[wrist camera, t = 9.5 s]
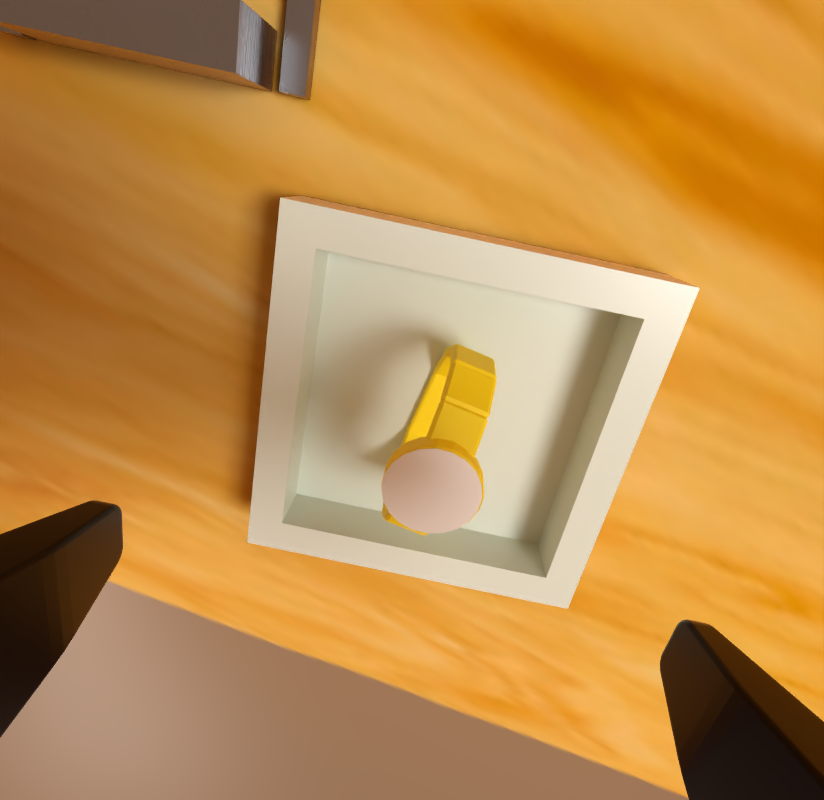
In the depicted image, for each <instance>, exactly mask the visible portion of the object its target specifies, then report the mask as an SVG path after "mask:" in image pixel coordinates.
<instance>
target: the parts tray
mask: <svg viewBox="0 0 824 800" xmlns="http://www.w3.org/2000/svg"><path fill="white" fill-rule="evenodd" d="M699 289H700V288H698V287H696V286H694V285H691V284H689V283H687V282H684V281H682V280H680V279H677V278H675V277H672V276H670V275H668V274H663V273H659V272H654V271H650V270H645V269H640V268H636V267H631V266H626V265H622V264H617V263H613V262H608V261H603V260H599V259H594V258H589V257H585V256H580V255H576V254H571V253H566V252H562V251H557V250H552V249H548V248H543V247H538V246H534V245H529V244H525V243H520V242H515V241H511V240H506V239H501V238H497V237H492V236H488V235H483V234H478V233H474V232H469V231H464V230H460V229H455V228H451V227H446V226H441V225H437V224H432V223H427V222H423V221H418V220H413V219H409V218H404V217H400V216H395V215H390V214H386V213H381V212H376V211H372V210H367V209H363V208H358V207H353V206H349V205H344V204H339V203H335V202H330V201H326V200H321V199H316V198H312V197H307V196H292V197H280V205H279V215H278V226H277V236H276V247H275V257H274V268H273V278H272V289H271V299H270V310H269V320H268V331H267V341H266V352H265V362H264V373H263V383H262V394H261V404H260V415H259V425H258V436H257V446H256V457H255V467H254V477H253V488H252V498H251V509H250V519H249V530H248V540H247V543H252V544H257V545H262V546H267V547H272V548H276V549H281V550H286V551H291V552H296V553H301V554H305V555H310V556H315V557H320V558H325V559H330V560H334V561H339V562H344V563H349V564H354V565H359V566H363V567H368V568H373V569H378V570H383V571H388V572H392V573H397V574H402V575H407V576H412V577H417V578H421V579H426V580H431V581H436V582H441V583H446V584H450V585H455V586H460V587H465V588H470V589H475V590H479V591H484V592H489V593H494V594H499V595H504V596H508V597H513V598H518V599H523V600H528V601H533V602H537V603H542V604H547V605H552V606H557V607H562V608H566V609H568V607H569V604H570V602H571V599H572V597H573V595H574V592H575V590H576V587H577V585H578V582H579V580H580V578H581V575H582V573H583V570H584V568H585V565H586V563H587V561H588V558H589V556H590V553H591V551H592V548H593V546H594V544H595V541H596V539H597V536H598V534H599V531H600V529H601V527H602V524H603V522H604V519H605V517H606V514H607V512H608V510H609V507H610V505H611V502H612V500H613V497H614V495H615V493H616V490H617V488H618V485H619V483H620V480H621V478H622V476H623V473H624V471H625V468H626V466H627V463H628V461H629V459H630V456H631V454H632V451H633V449H634V446H635V444H636V442H637V439H638V437H639V434H640V432H641V429H642V427H643V425H644V422H645V420H646V417H647V415H648V412H649V410H650V408H651V405H652V403H653V400H654V398H655V395H656V393H657V391H658V388H659V386H660V383H661V381H662V378H663V376H664V374H665V371H666V369H667V366H668V364H669V361H670V359H671V357H672V354H673V352H674V349H675V347H676V344H677V342H678V340H679V337H680V335H681V332H682V330H683V327H684V325H685V323H686V320H687V318H688V315H689V313H690V310H691V308H692V306H693V303H694V301H695V298H696V296H697V294H698V291H699ZM455 344H459V345H462V346H464V347H466V348H469V349H471V350H473V351H476V352H478V353H481V354H483V355H485V356H488V357H490V358H492V359H493V360H494V362H495V368H496V377H497V380H496V387H495V392H494V396H493V401H492V406H491V410H490V415H489V417H488V418H487V420H488V422H487V424H486V427H485V430H484V433H483V435H482V438H481V441H480V444H479V446H478V449H477V452H476V455H475V457H476V458H477V460H478V462H479V464H480V467H481V469H482V471H483V479H484V499H483V501H482V504H481V507H480V509H479V511H478V512H477V513H476V515H475V516H474V517H473V518H472V519H471V520H470V521H469V522H468V523H466V524H464V525H463V526H461V527H460V528H458V529H455V530H452V531H448V532H445V533H429V534H427V535H424V536H423V535H421V534H418V533H416V532H413V531H410V530H408V529H405V528H403V527H400V526H397V525H395V524H392V523H390V522H387V521H386V520H385V519H384V518H383V516H382V508H383V502H384V501H383V497H382V489H381V484H382V479H383V475H384V471H385V467H386V463H387V461H388V460H389V458H390V457H391V456H392V454H393V453H394V451H395V450H396V449H398V448H399V447H400V446H401V444H402V441H403V438H404V436H405V433H406V431H407V427H408V426H409V425H410V422H411V420H412V418H413V416H414V414H415V411H416V409H417V407H418V405H419V403H420V400H421V398H422V396H423V394H424V392H425V389H426V387H427V385H428V383H429V381H430V378H431V376H432V374H433V372H434V370H435V367H436V365H437V363H438V362H439V360H440V359H441V357H442V355H443V354H444V352H445V351H446V350H447V348H449V347H451V346H453V345H455Z"/></svg>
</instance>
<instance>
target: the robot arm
mask: <svg viewBox="0 0 824 800" xmlns="http://www.w3.org/2000/svg"><path fill="white" fill-rule="evenodd" d="M122 549H123V534H122V512H121V509H120V507H119V506H117V505H115V504H111V503H106V502H101V501H89V502H86V503H83V504H80V505H78V506H75V507H72V508H70V509H67V510H64V511H62V512H59V513H56V514H54V515H51V516H48V517H45V518H43V519H40V520H37V521H35V522H32V523H29V524H27V525H24V526H21V527H19V528H16V529H13V530H11V531H8V532H5V533H3V534H0V737H1V736H2V735H3V733H4V732H5V731H6V729H7V728H8V727H9V725H10V724H11V723H12V721H13V720H14V719H15V717H16V716H17V715H18V713H19V712H20V711H21V709H22V708H23V707H24V705H25V704H26V702H27V701H28V700H29V699H30V697H31V696H32V694H33V693H34V692H35V690H36V689H37V688H38V686H39V685H40V684H41V682H42V681H43V679H44V678H45V677H46V676H47V674H48V673H49V672H50V670H51V669H52V668H53V666H54V665H55V663H56V662H57V661H58V659H59V658H60V656H61V655H62V654H63V652H64V651H65V649H66V648H67V646H68V644H69V643H70V641H71V640H72V638H73V636H74V635H75V633H76V632H77V630H78V628H79V627H80V625H81V623H82V622H83V620H84V618H85V617H86V615H87V613H88V612H89V610H90V608H91V607H92V605H93V603H94V602H95V600H96V598H97V597H98V595H99V593H100V592H101V590H102V588H103V587H104V585H105V583H106V582H107V580H108V578H109V577H110V575H111V573H112V572H113V570H114V568H115V567H116V565H117V563H118V562H119V559H120V557H121V554H122ZM660 671H661V677H662V682H663V687H664V692H665V697H666V701H667V706H668V711H669V716H670V721H671V726H672V731H673V736H674V741H675V746H676V751H677V755H678V760H679V764H680V768H681V773H682V776H683V780H684V783H685V787H686V791H687V794H688V797H689V800H824V722H823V721H822V720H821V719H820V718H819V717H818V716H816V715H815V714H814V713H813V712H812V711H811V710H809V709H808V708H807V707H806V706H805V705H804V704H802V703H801V702H800V701H799V700H798V699H797V698H795V697H794V696H793V695H792V694H791V693H790V692H788V691H787V690H786V689H785V688H784V687H783V686H781V685H780V684H779V683H778V682H777V681H776V680H774V679H773V678H772V677H771V676H770V675H769V674H767V673H766V672H765V671H764V670H763V669H762V668H760V667H759V666H758V665H757V664H756V663H755V662H753V661H752V660H751V659H750V658H749V657H748V656H746V655H745V654H744V653H743V652H742V651H741V650H739V649H738V648H737V647H736V646H735V645H734V644H732V643H731V642H730V641H729V640H728V639H727V638H726V637H724V636H723V635H722V634H721V633H720V632H719V631H717V630H716V629H715V628H714V627H712V626H711V625H709V624H706V623H702V622H697V621H692V620H682V621H681V622H679V623H678V625H677V627H676V628H675V630H674V632H673V634H672V636H671V638H670V640H669V642H668V644H667V646H666V648H665V650H664V651H663V653H662V656H661V660H660Z"/></svg>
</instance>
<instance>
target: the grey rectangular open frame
mask: <svg viewBox="0 0 824 800" xmlns="http://www.w3.org/2000/svg"><path fill="white" fill-rule="evenodd" d="M320 4H321V0H287V6H286V17H285V28H284V40H283V51H282V63H281V74H280V85H279V92H281V93H283V94H285V95H289V96H294V97H298V98H303V99H307V100H310V96H311V87H312V78H313V68H314V59H315V50H316V41H317V32H318V22H319V13H320ZM0 31H1V32H4V33H7V34H10V35H15V36H19V37H24V38H28V39H33V40H36V39H39V40H42V41H45V42H48V43H51V44H56V45H60V46H65V47H70V48H74V49H79V50H83V51H88V52H92V53H97V54H102V55H106V56H111V57H115V58H120V59H124V60H129V61H134V62H138V63H143V64H147V65H152V66H156V67H161V68H166V69H170V70H175V71H179V72H184V73H189V74H193V75H198V76H202V77H207V78H211V79H216V80H221V81H225V82H230V83H234V84H239V85H243V86H248V87H253V88H257V89H262V90H266V91H271V92H272V87H273V75H274V63H275V51H276V39H277V31H276V30H275V29H274V28H273V27H272V26H270V25H269V24H268V23H267V22H266V21H265V20H264V19H262V18H261V17H260V16H259V15H258V14H257V13H256V12H254V11H253V10H252V9H251V8H250V7H249V6H248V5H246V4H245V3H244V2H243V1H242V0H0Z"/></svg>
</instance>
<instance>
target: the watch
mask: <svg viewBox="0 0 824 800" xmlns="http://www.w3.org/2000/svg"><path fill="white" fill-rule="evenodd" d="M496 380H497V377H496V368H495V362H494V360H493V359H492V358H490V357H488V356H485V355H483V354H481V353H478V352H476V351H473V350H471V349H469V348H466V347H464V346H462V345H459V344H455V345H453V346H451V347H449V348H447V350H446V351H445V352H444V354H443V355H442V357H441V359H440V360H439V362H438V363H437V365H436V367H435V370H434V372H433V374H432V376H431V378H430V381H429V383H428V385H427V387H426V389H425V392H424V394H423V396H422V398H421V400H420V403H419V405H418V407H417V409H416V411H415V414H414V416H413V418H412V420H411V422H410V425H409V426H408V427H407V431H406V433H405V436H404V438H403V441H402V444H401V446H400V447H399V448H398V449H396V450H395V451H394V453H393V454H392V456H391V457H390V458H389V460H388V461H387V463H386V467H385V471H384V475H383V479H382V484H381V489H382V497H383V501H384V502H383V508H382V516H383V518H384V519H385V520H386V521H387V522H390V523H392V524H395V525H397V526H400V527H403V528H405V529H408V530H410V531H413V532H416V533H418V534H421V535H423V536H424V535H427V534H429V533H445V532H448V531H452V530H455V529H458V528H460V527H461V526H463V525H464V524H466V523H468V522H469V521H470V520H471V519H472V518H473V517H474V516H475V515H476V513H477V512H478V511H479V509H480V507H481V504H482V501H483V499H484V479H483V471H482V469H481V467H480V464H479V462H478V460H477V458H476V457H475V455H476V452H477V449H478V446H479V444H480V441H481V438H482V435H483V433H484V430H485V427H486V424H487V422H488V420H487V418H488V417H489V415H490V410H491V406H492V401H493V396H494V392H495V387H496Z"/></svg>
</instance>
